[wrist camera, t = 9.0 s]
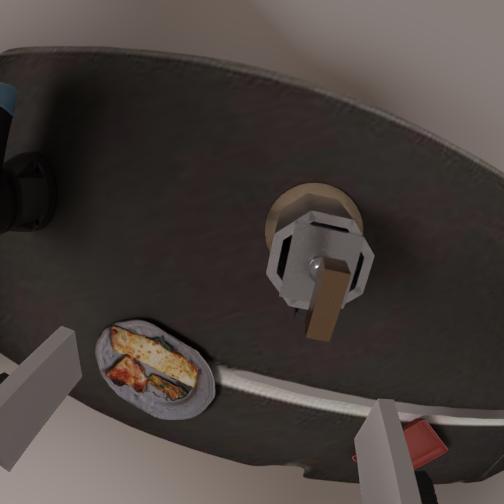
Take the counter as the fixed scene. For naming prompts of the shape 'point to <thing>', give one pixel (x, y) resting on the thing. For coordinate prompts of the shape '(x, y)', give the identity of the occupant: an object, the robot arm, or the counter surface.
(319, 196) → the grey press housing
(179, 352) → the food plate
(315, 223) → the plunger
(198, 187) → the counter surface
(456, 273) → the counter surface
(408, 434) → the plant saucer
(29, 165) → the robot arm
